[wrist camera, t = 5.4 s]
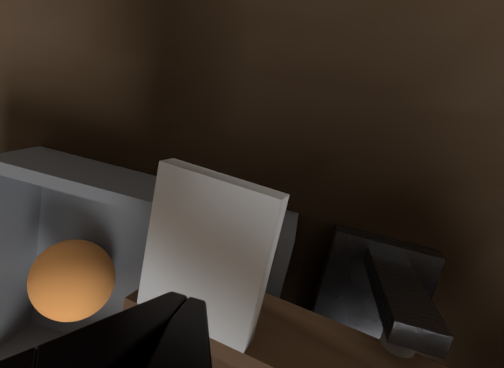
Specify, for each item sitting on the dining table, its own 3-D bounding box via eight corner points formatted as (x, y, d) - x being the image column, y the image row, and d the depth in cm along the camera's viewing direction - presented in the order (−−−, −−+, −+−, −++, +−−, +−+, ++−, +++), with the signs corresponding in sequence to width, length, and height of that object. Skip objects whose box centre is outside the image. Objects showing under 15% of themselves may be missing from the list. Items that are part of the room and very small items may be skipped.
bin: (250, 394, 22) (237, 455, 18) (26, 324, 23) (-28, 366, 19) (298, 212, 19) (294, 240, 15) (40, 146, 20) (-21, 156, 17)
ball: (115, 334, 19) (21, 345, 17) (106, 289, 22) (26, 295, 20) (126, 262, 18) (27, 265, 16) (114, 226, 21) (31, 225, 19)
